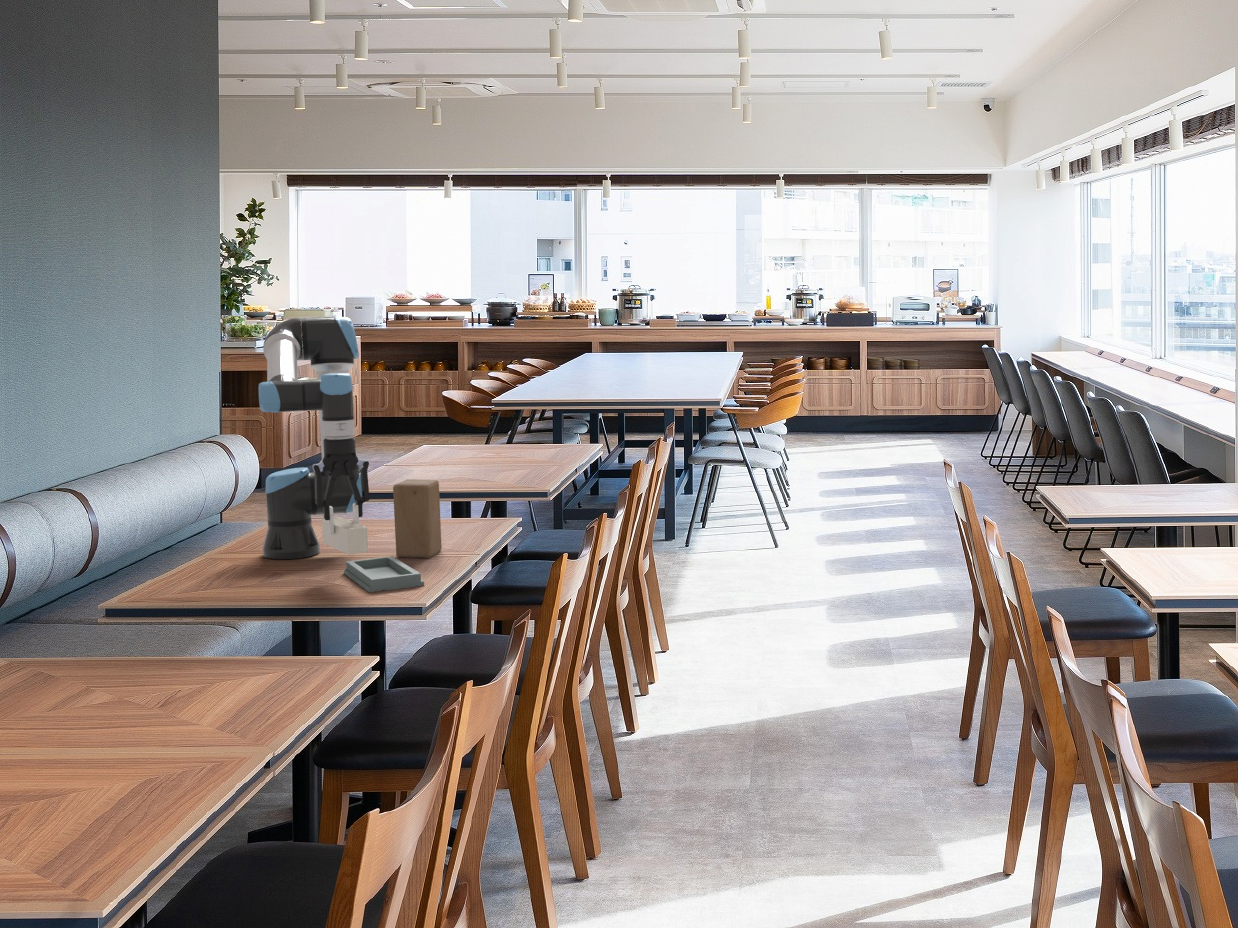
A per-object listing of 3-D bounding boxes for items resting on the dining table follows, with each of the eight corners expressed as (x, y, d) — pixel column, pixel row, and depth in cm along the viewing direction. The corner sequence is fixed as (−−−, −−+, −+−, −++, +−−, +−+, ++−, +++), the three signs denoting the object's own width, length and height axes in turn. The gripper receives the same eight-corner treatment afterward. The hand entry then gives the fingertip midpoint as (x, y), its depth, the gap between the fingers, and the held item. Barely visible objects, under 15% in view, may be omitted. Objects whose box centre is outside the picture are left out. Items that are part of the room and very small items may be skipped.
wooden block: (430, 558, 332) (427, 484, 329) (394, 558, 334) (391, 484, 331) (443, 551, 341) (439, 479, 339) (408, 550, 343) (405, 478, 341)
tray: (343, 573, 316) (343, 561, 316) (395, 567, 322) (394, 555, 322) (369, 592, 295) (368, 580, 295) (424, 585, 301) (423, 573, 301)
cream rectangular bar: (323, 542, 310) (321, 519, 309) (342, 540, 313) (341, 516, 312) (348, 554, 295) (346, 529, 294) (368, 551, 298) (367, 527, 297)
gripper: (303, 441, 293) (309, 538, 296) (380, 436, 301) (385, 530, 304) (297, 438, 300) (303, 533, 303) (373, 433, 308) (377, 525, 311)
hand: (344, 531), depth 303 cm, fingers closed on cream rectangular bar, 5 cm apart
